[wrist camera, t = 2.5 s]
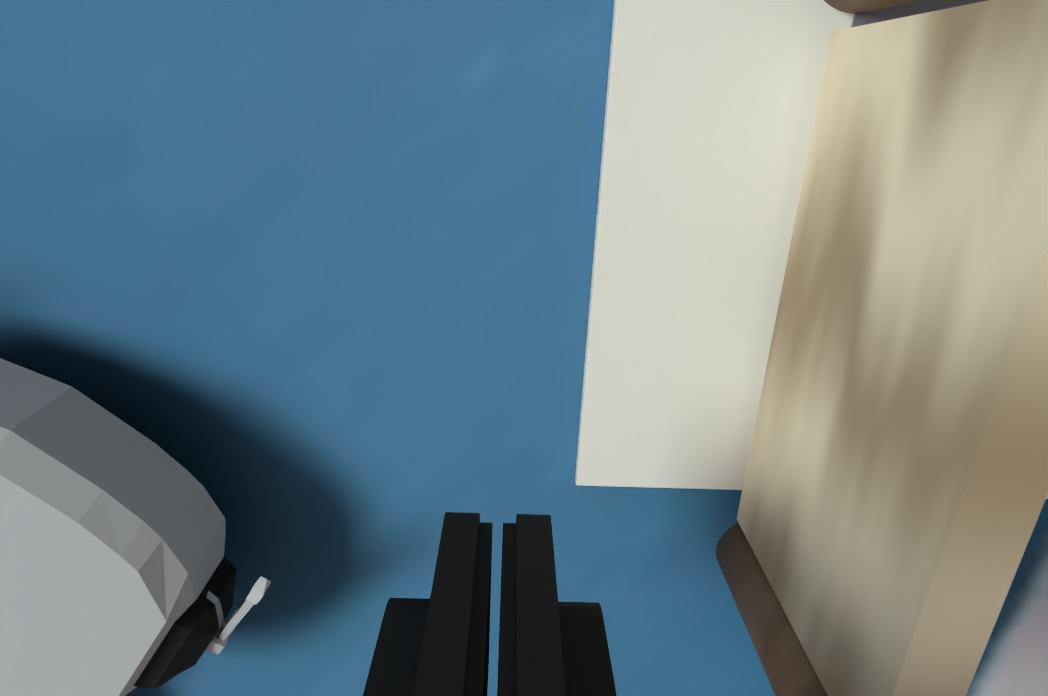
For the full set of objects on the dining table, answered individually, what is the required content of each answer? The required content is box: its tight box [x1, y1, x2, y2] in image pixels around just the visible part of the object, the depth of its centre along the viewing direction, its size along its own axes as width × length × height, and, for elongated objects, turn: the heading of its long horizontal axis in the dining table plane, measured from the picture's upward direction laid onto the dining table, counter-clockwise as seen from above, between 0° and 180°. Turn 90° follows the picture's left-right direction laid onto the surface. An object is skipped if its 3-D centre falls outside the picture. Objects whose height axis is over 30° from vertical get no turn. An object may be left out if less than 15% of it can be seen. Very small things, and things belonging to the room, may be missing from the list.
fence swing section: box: [716, 0, 1048, 696], centre depth 12 cm, size 14×2×7 cm, turn 178°
